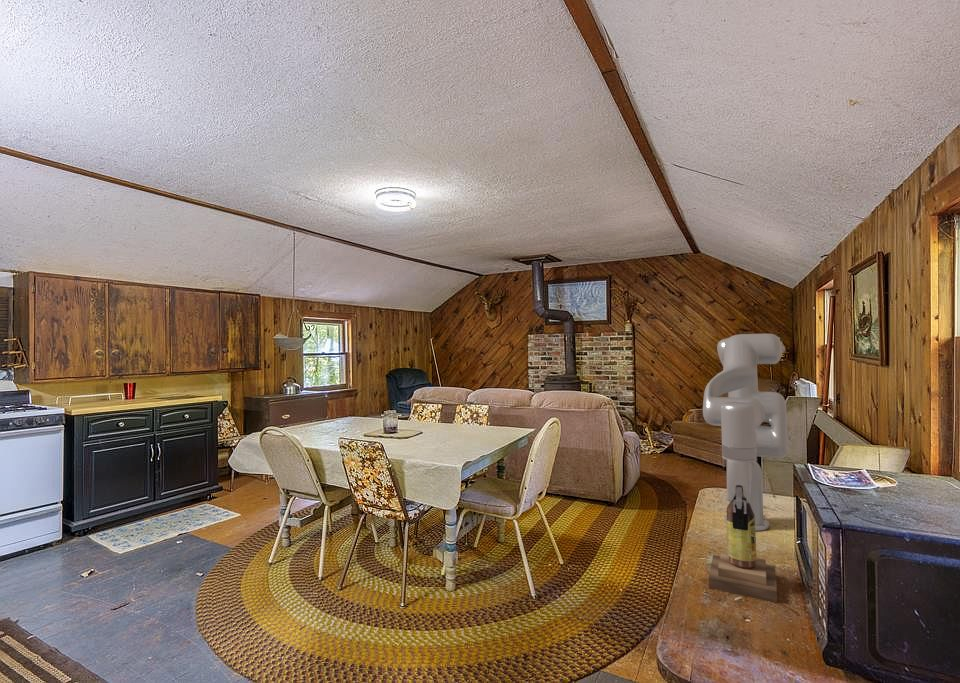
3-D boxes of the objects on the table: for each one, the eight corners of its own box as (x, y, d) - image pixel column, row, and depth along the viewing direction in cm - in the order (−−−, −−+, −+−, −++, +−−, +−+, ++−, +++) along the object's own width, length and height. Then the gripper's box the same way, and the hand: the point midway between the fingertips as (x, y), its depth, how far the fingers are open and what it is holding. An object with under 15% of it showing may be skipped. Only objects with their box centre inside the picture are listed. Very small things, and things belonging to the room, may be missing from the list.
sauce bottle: (759, 571, 114) (756, 487, 115) (729, 567, 117) (727, 485, 117) (754, 559, 121) (751, 479, 121) (726, 556, 123) (723, 478, 123)
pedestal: (713, 564, 128) (713, 547, 128) (775, 575, 121) (774, 557, 121) (708, 588, 116) (708, 569, 116) (777, 602, 109) (776, 582, 109)
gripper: (724, 444, 128) (726, 508, 128) (719, 459, 113) (721, 532, 113) (756, 446, 124) (758, 512, 124) (756, 462, 109) (758, 538, 109)
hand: (741, 521), depth 119 cm, fingers open, 9 cm apart
